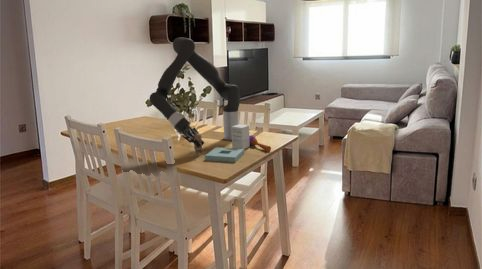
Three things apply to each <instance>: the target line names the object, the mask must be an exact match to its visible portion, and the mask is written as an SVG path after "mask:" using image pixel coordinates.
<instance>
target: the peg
mask: <svg viewBox="0 0 482 269" xmlns="http://www.w3.org/2000/svg"><path fill="white" fill-rule="evenodd" d="M194 137H195V139H196V140H197V141H198V142H199V143H200V144H201V146H200V147H199V148H198V147H197V146H196V145H195V144H194V143H193V148H194V152H195V154H197V155H199V154H202V150H203V145H202V140H203V139H202V138H203V137H202V134H201V133H199V134H194Z"/></svg>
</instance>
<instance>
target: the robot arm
mask: <svg viewBox="0 0 482 269" xmlns="http://www.w3.org/2000/svg"><path fill="white" fill-rule="evenodd" d="M172 41H173V42H172V48H173V50H174V52H175V53H176V56H175V58H174V60H173V61H172V62H171V64H169V65H168V67H167V68H166V69H164V71H163V73H162V75H161V77H160V79H159V81H158V83H157V88H156V91H155V92H154V91H153V92H151V94H150V96H149V102H150V104H151V105H152V106H154V107H155V108H156V109H157V110H158V111H159V112H160V113H161V114H162V115H163V116H164V118H165V119H166V120H168V122H169V123H170V125H172V127H173V128H174V129H175V130H176V131H177V132H178V133H179V134H180V133H182V135H181V137H182V138H183V139H184V140H186V141H187V142H188V143H190V144H193V145H194V144H195V145H196V146H197V147H198V148H199V147H200V146H201V144H200V143H199V142H198V141H197V140H196V139H195V137H194V134H200V132H199V131H198V130H197V128H196V127H191V126H190V124H191V123H190V121H189V120H188V119H187V118H186V117H185V116H184V115H183V114H182V113H181V112H180V111H179V110H178V109H177V108H176V107H175V106H173V105H172V104H171V103H170V102H169V101H168V100H167V99H168V96H169V93H170V90H171V88H172V87H173V85H174V83H175V81H176V79H177V77H178V76H179V74H180V72H181V71H182V69H183V67H184V66H185V65H186V63H189V65H190V66H191V67H192V69H194V70H195V71H196V72H197V73H198V74H199V75H200V77H202V78H203V80H205V81H206V82H207V83H208V84H209V85H210V86H212V87H213V89H215V92H217V93H218V94H219V96H220V97H221V98H223V99H224V100H227V104H226V105H224V106H223V107H222V112H223V113H222V118H223V138H224V139H223V140H227V141H232V126H235V125H238V124H240V121H239V120H240V119H239V107H240V98H241V96H240V95H241V94H240V88H239V86H238V85H236V84H229V83H226V82H225V81H224V80H223V79H222V78H221V77H220V73H219V70H218V68H217V67H216V66H215V65H214V64H213V63H212V62H211V61H210V60H208V59H207V58H205V57H204V56H202V55H201V54H199V53H198V52H197V51H196V50H195V49H196V44H195V42H194V40H192V39H191V38H187V37H181V36H180V37H176V38H175V39H174V40H172ZM204 144H205V141H204V140H203V139H202V146H203V145H204Z"/></svg>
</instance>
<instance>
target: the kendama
mask: <svg viewBox="0 0 482 269" xmlns="http://www.w3.org/2000/svg"><path fill="white" fill-rule="evenodd" d="M249 138H250V147H254V146H258V147H260V149H262V150H264V151H265V152H266V153H269V152H271V149H272V147H271V146H270V145H265V144H264V143H263V144H262V143H260V142H258V140H257V139H256V137H255V136H254V135H249Z"/></svg>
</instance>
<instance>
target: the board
mask: <svg viewBox="0 0 482 269" xmlns="http://www.w3.org/2000/svg"><path fill="white" fill-rule="evenodd" d="M243 155H245V149H236V148H232V147H214V148H213V149H211V150H210V151H209V152H208V153H207V154H205V155H204V160H205V161H211V162H212V161H213V162H228V163H237V162H238V160H240V159H241V157H243Z"/></svg>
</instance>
